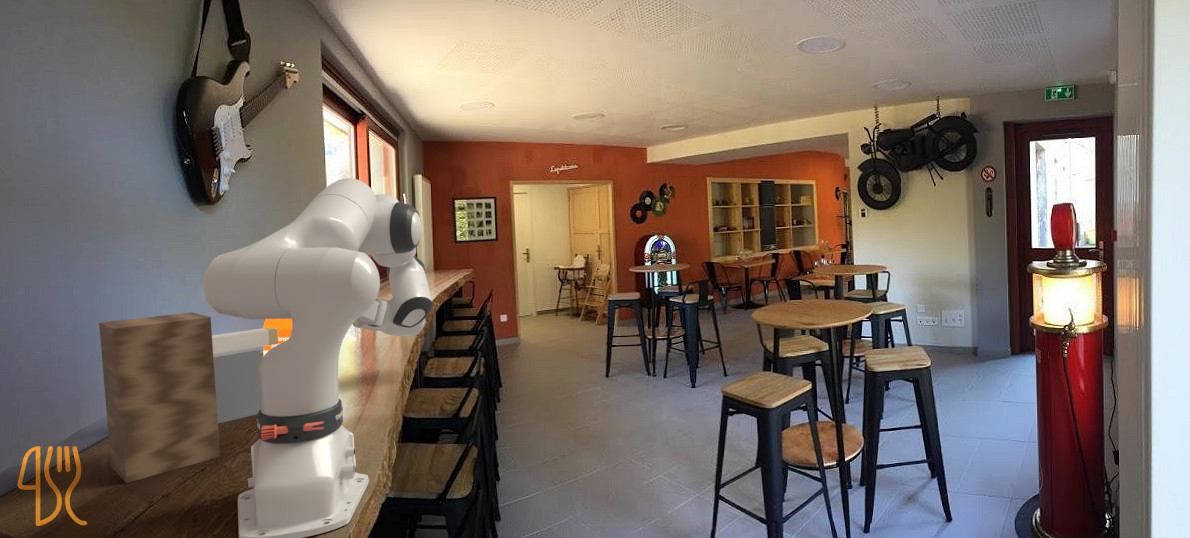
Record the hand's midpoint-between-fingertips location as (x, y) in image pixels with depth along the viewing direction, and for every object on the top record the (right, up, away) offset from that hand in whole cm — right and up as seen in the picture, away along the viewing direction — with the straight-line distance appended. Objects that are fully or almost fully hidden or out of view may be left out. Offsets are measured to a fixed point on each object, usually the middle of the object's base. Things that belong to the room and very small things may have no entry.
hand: (315, 299), depth 146 cm
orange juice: (-17, -23, +20) cm, 35 cm away
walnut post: (-10, -28, -37) cm, 47 cm away
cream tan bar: (-14, -11, -11) cm, 21 cm away
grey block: (-14, -25, -10) cm, 31 cm away
